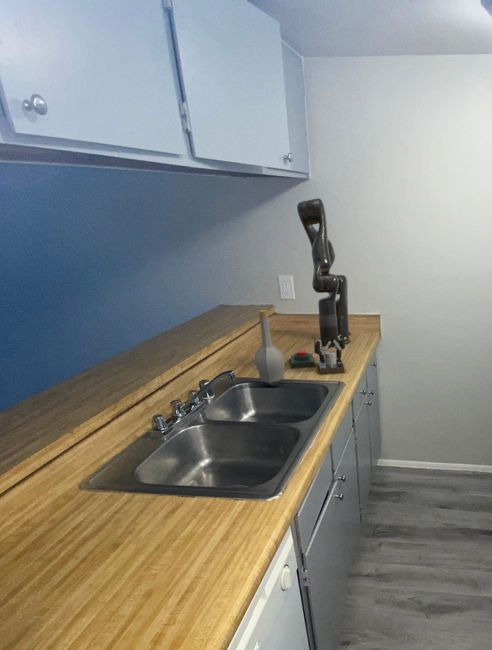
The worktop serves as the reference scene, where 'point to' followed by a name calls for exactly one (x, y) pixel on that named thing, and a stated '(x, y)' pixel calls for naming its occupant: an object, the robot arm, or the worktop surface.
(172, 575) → the worktop surface
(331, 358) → the dial
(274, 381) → the bottle
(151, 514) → the worktop surface
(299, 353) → the nozzle button
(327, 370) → the dial panel
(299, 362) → the dark green button base
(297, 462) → the worktop surface
